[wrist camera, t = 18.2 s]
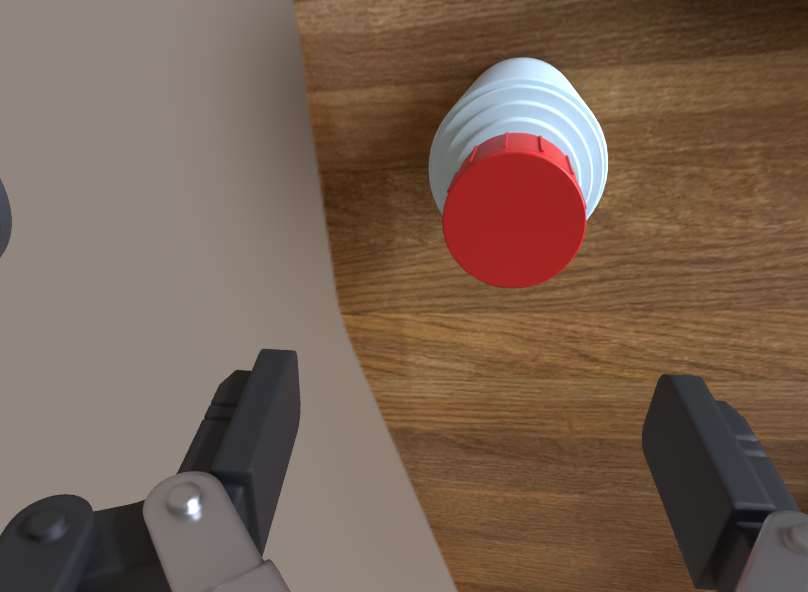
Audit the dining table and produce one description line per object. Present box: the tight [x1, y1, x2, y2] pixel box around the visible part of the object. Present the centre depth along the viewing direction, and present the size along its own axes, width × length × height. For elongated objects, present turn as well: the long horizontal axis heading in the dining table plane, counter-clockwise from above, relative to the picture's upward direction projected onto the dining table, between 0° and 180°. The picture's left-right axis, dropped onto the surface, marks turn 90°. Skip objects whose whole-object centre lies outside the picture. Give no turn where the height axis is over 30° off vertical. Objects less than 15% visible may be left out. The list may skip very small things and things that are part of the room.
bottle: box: [429, 57, 608, 220], centre depth 26 cm, size 6×6×20 cm
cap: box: [442, 132, 587, 288], centre depth 18 cm, size 4×4×3 cm
